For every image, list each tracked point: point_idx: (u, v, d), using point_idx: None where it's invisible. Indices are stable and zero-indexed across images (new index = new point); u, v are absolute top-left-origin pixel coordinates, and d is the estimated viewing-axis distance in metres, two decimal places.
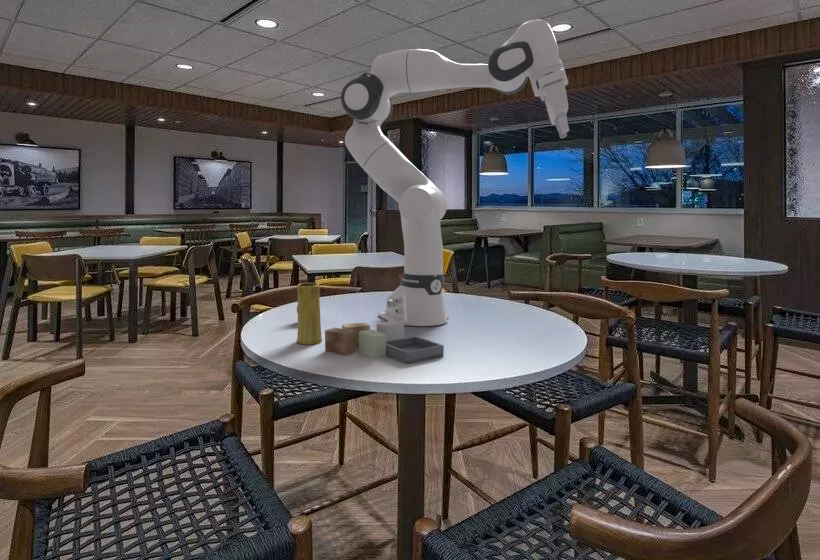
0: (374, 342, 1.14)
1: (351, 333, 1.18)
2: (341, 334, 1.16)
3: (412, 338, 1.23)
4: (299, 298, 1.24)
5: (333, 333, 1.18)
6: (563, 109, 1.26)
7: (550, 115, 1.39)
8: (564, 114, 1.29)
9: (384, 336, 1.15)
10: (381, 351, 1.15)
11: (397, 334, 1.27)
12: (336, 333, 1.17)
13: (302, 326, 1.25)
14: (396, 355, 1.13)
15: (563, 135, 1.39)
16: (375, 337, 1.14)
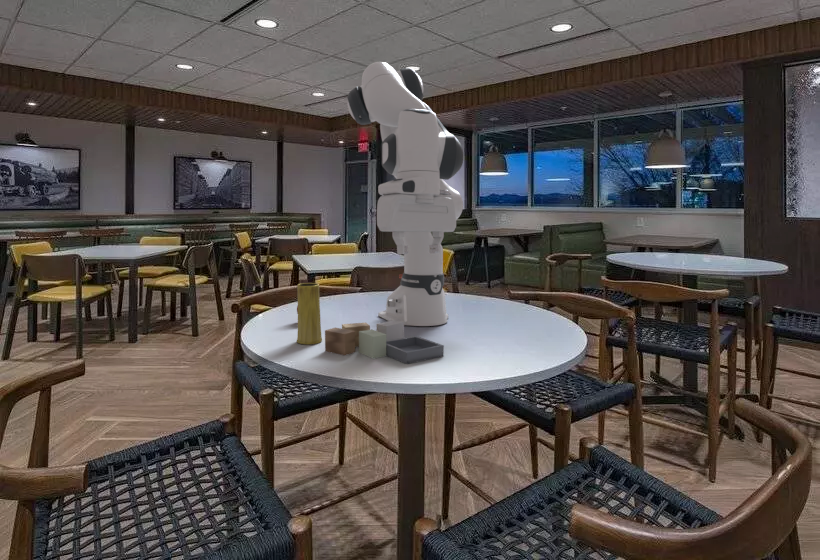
0: (374, 342, 1.14)
1: (351, 333, 1.18)
2: (341, 334, 1.16)
3: (412, 338, 1.23)
4: (299, 298, 1.24)
5: (333, 333, 1.18)
6: (386, 230, 1.02)
7: None
8: (398, 234, 1.04)
9: (384, 336, 1.15)
10: (381, 351, 1.15)
11: (397, 334, 1.27)
12: (336, 333, 1.17)
13: (302, 326, 1.25)
14: (396, 355, 1.13)
15: (432, 251, 1.12)
16: (375, 337, 1.14)
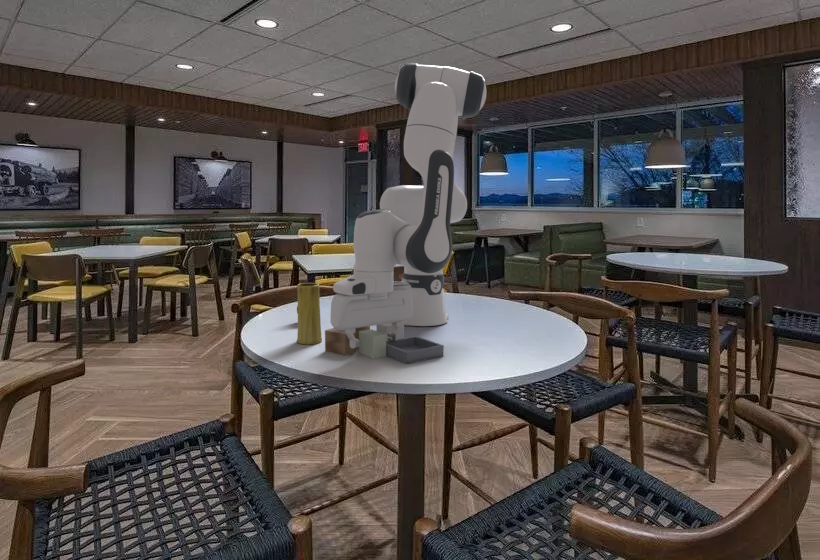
0: (374, 342, 1.14)
1: None
2: (341, 334, 1.16)
3: (412, 338, 1.23)
4: (299, 298, 1.24)
5: (333, 333, 1.18)
6: (337, 328, 1.10)
7: None
8: (349, 330, 1.11)
9: (384, 336, 1.15)
10: (381, 351, 1.15)
11: (397, 334, 1.27)
12: (336, 333, 1.17)
13: (302, 326, 1.25)
14: (396, 355, 1.13)
15: (390, 339, 1.19)
16: (375, 337, 1.14)
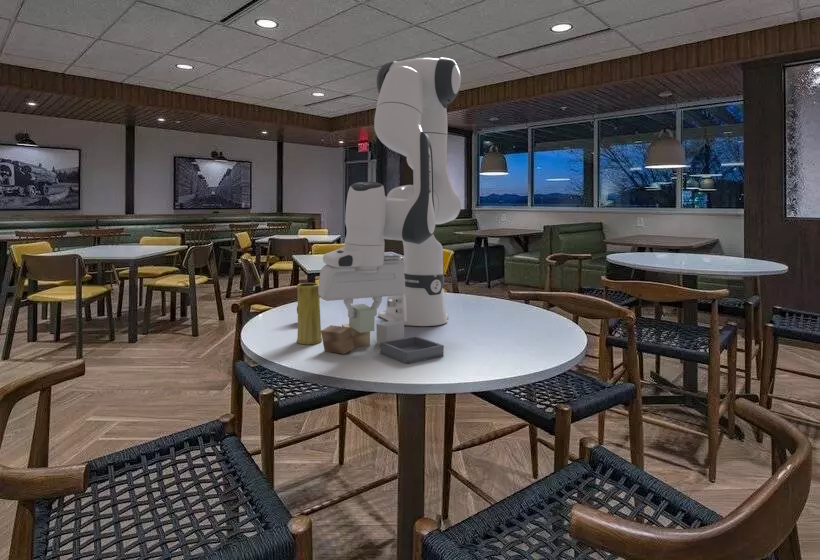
0: (362, 316, 1.15)
1: (347, 330, 1.17)
2: (337, 333, 1.16)
3: (412, 338, 1.23)
4: (299, 298, 1.24)
5: (329, 333, 1.17)
6: None
7: None
8: (346, 300, 1.14)
9: (372, 311, 1.16)
10: (368, 326, 1.16)
11: (397, 334, 1.27)
12: (332, 333, 1.17)
13: (302, 326, 1.25)
14: (396, 355, 1.13)
15: None
16: (363, 311, 1.14)
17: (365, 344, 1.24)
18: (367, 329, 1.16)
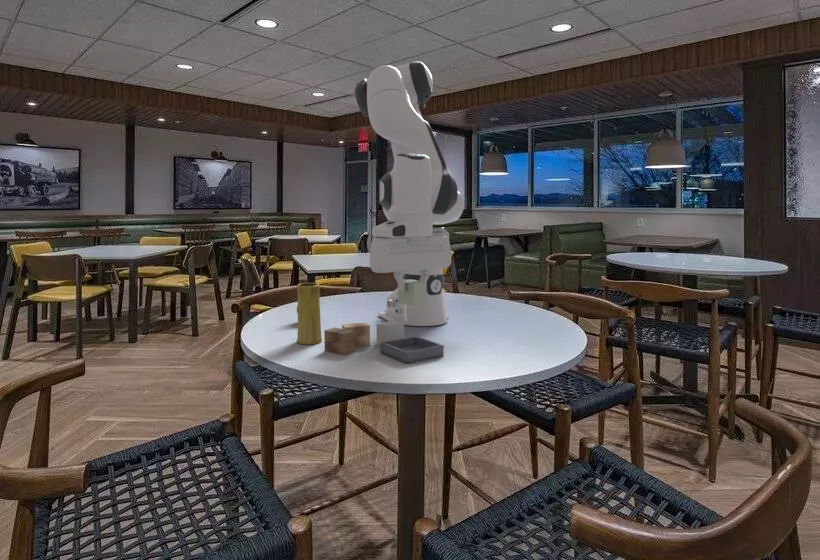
0: (415, 289, 1.12)
1: (350, 333, 1.18)
2: (340, 334, 1.16)
3: (412, 338, 1.23)
4: (299, 298, 1.24)
5: (332, 333, 1.18)
6: (377, 271, 1.08)
7: None
8: (398, 273, 1.12)
9: (424, 283, 1.13)
10: (421, 299, 1.13)
11: (397, 334, 1.27)
12: (335, 333, 1.17)
13: (302, 326, 1.25)
14: (396, 355, 1.13)
15: None
16: (416, 284, 1.12)
17: (365, 344, 1.24)
18: (420, 302, 1.13)
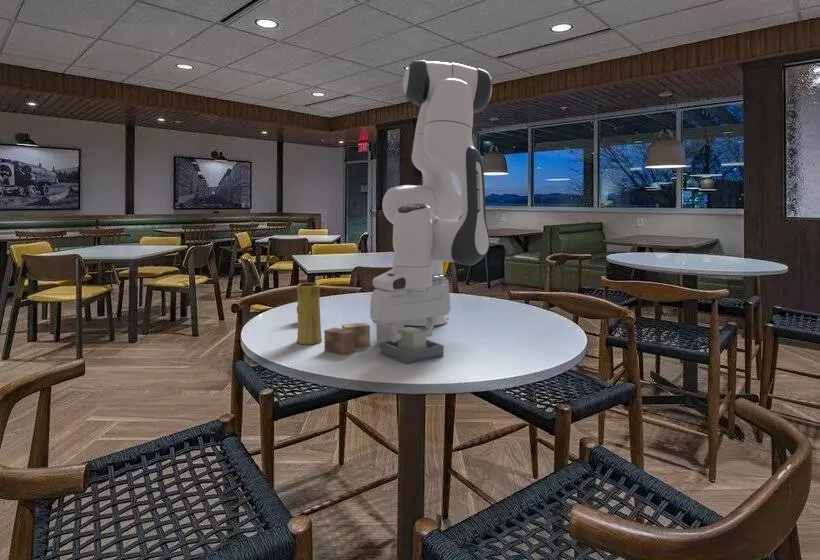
0: (415, 340, 1.14)
1: (350, 333, 1.18)
2: (340, 334, 1.16)
3: None
4: (299, 298, 1.24)
5: (332, 333, 1.18)
6: (377, 323, 1.10)
7: None
8: (391, 324, 1.12)
9: (424, 334, 1.15)
10: None
11: None
12: (335, 333, 1.17)
13: (302, 326, 1.25)
14: (396, 355, 1.13)
15: None
16: (416, 334, 1.14)
17: (365, 344, 1.24)
18: None
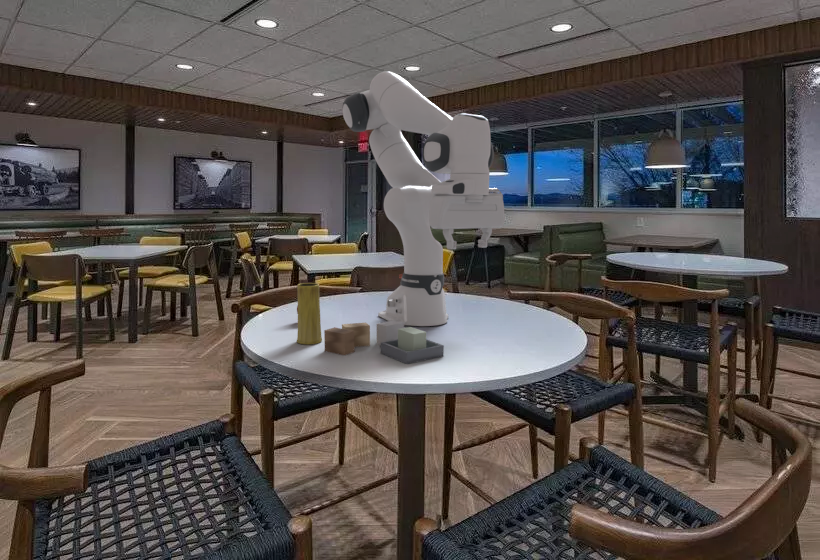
0: (415, 340, 1.14)
1: (350, 333, 1.18)
2: (340, 334, 1.16)
3: None
4: (299, 298, 1.24)
5: (332, 333, 1.18)
6: (436, 227, 1.13)
7: None
8: (447, 231, 1.15)
9: (424, 334, 1.15)
10: None
11: (397, 334, 1.27)
12: (335, 333, 1.17)
13: (302, 326, 1.25)
14: (396, 355, 1.13)
15: (480, 245, 1.22)
16: (416, 334, 1.14)
17: (365, 344, 1.24)
18: None
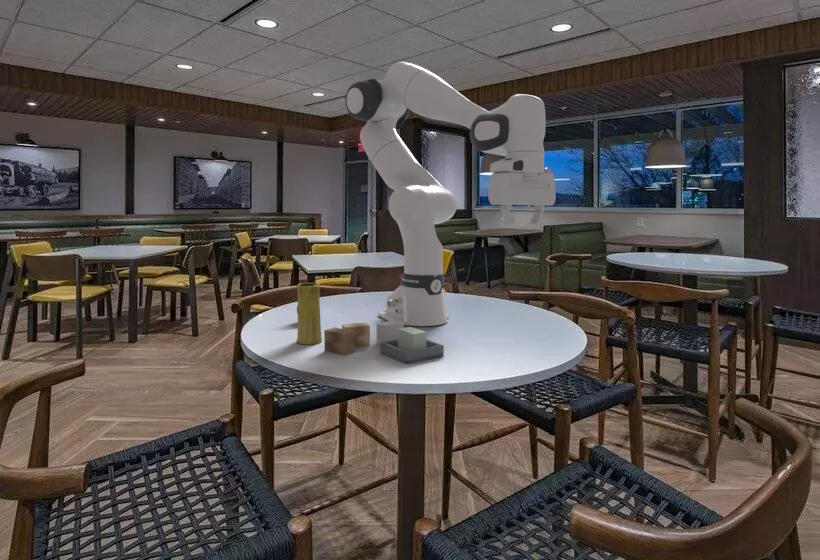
0: (415, 340, 1.14)
1: (350, 333, 1.18)
2: (340, 334, 1.16)
3: None
4: (299, 298, 1.24)
5: (332, 333, 1.18)
6: (496, 203, 1.18)
7: None
8: (506, 207, 1.20)
9: (424, 334, 1.15)
10: None
11: (397, 334, 1.27)
12: (335, 333, 1.17)
13: (302, 326, 1.25)
14: (396, 355, 1.13)
15: (533, 222, 1.27)
16: (416, 334, 1.14)
17: (365, 344, 1.24)
18: None
